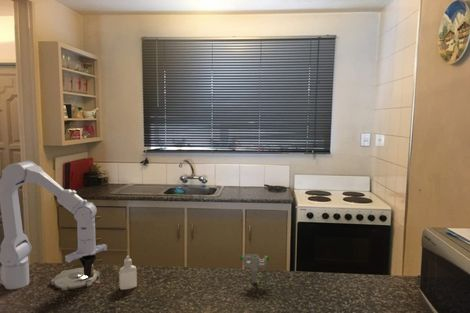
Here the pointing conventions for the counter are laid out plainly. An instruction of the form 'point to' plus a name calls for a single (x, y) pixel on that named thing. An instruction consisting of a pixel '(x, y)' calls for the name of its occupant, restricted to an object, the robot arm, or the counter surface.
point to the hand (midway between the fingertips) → (87, 275)
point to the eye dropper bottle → (128, 275)
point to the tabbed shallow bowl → (74, 278)
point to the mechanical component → (254, 263)
